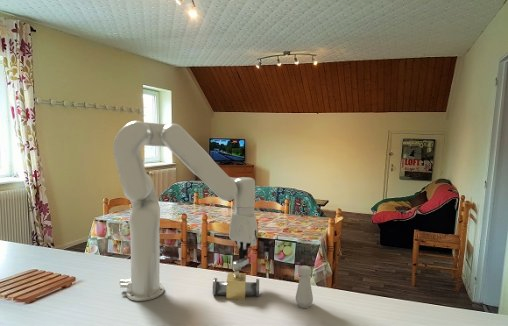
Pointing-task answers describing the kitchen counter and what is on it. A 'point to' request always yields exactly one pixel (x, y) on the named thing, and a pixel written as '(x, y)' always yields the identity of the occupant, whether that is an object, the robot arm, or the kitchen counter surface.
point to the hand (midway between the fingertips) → (243, 258)
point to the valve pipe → (236, 286)
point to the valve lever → (244, 261)
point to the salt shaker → (304, 288)
